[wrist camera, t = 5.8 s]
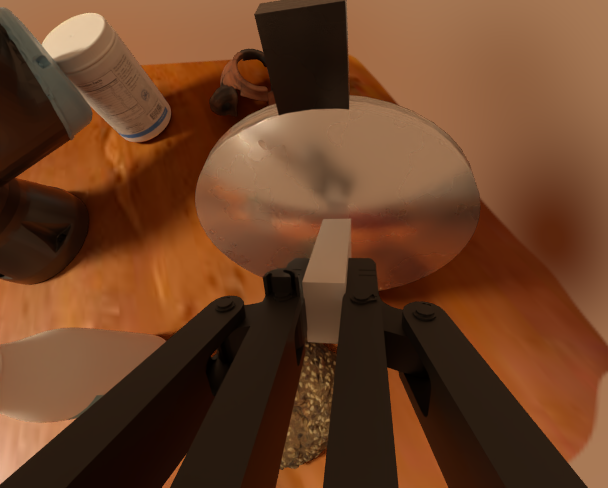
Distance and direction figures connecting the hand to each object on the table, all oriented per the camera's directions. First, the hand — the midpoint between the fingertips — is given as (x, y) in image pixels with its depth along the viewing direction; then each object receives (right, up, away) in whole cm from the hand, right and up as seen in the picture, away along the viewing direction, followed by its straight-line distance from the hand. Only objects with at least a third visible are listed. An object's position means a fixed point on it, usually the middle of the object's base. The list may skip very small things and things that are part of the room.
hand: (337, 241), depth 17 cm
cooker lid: (0, +3, +2) cm, 3 cm away
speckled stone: (-3, -16, +16) cm, 23 cm away
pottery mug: (-11, +22, +32) cm, 41 cm away
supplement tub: (-28, +20, +34) cm, 49 cm away
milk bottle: (-21, -15, +20) cm, 33 cm away
